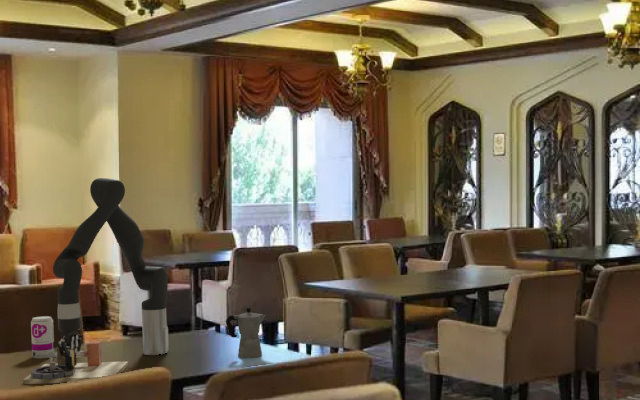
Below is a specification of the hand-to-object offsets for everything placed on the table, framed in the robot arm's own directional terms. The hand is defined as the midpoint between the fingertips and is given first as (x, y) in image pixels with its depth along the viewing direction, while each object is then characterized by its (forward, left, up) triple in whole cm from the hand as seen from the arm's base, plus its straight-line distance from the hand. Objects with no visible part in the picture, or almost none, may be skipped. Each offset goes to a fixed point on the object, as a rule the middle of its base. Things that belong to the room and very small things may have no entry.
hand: (71, 366), depth 305 cm
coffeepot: (-58, -26, -4) cm, 64 cm away
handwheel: (+5, +3, -2) cm, 6 cm away
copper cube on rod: (+2, -11, -2) cm, 11 cm away
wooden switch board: (-1, -3, -3) cm, 5 cm away
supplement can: (+21, -36, -4) cm, 41 cm away
